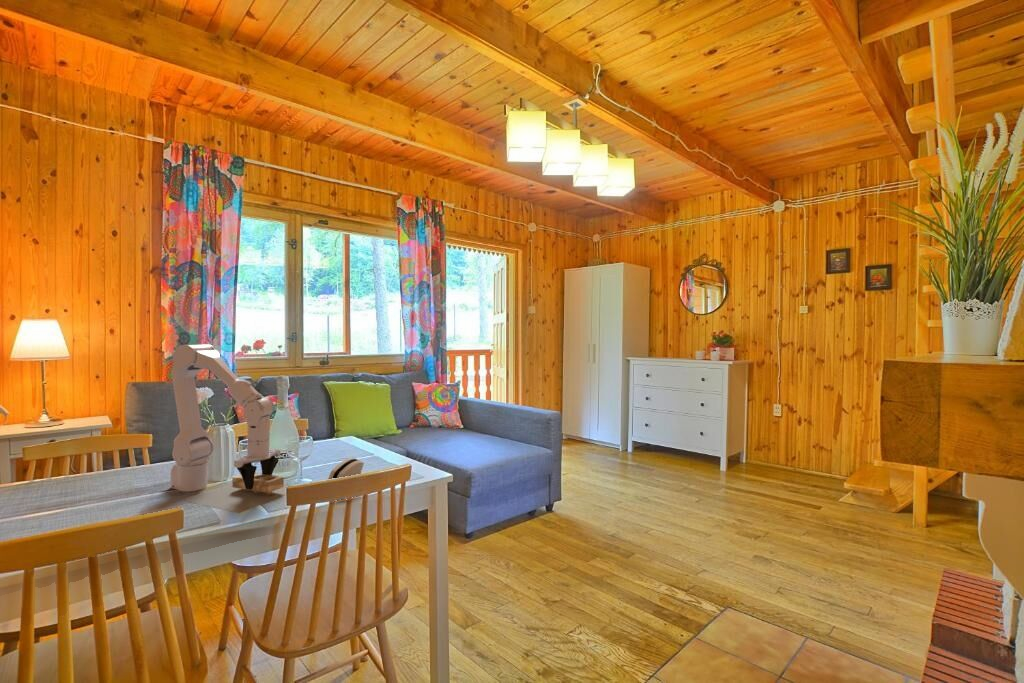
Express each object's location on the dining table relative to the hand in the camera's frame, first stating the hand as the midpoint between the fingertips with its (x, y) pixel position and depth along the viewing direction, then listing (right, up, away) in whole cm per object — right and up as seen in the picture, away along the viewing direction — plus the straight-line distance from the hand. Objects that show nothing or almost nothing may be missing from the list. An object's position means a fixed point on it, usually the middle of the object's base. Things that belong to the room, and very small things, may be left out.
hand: (257, 485), depth 145 cm
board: (-3, -3, -2) cm, 5 cm away
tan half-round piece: (+21, -4, +11) cm, 24 cm away
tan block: (0, 0, 0) cm, 0 cm away
